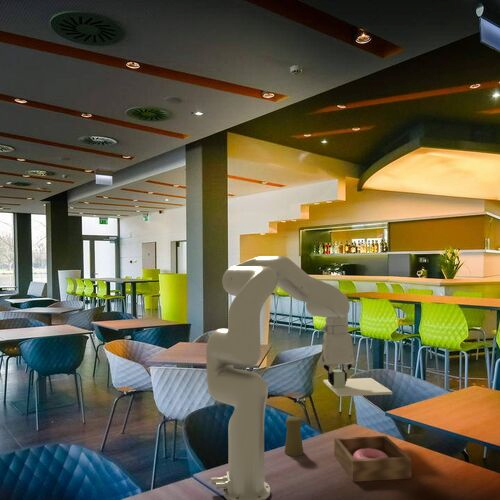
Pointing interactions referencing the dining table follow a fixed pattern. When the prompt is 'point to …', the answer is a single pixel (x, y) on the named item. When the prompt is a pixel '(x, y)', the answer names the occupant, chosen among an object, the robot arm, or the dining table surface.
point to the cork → (293, 437)
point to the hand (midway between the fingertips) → (337, 383)
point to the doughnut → (369, 454)
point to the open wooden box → (372, 468)
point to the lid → (355, 386)
